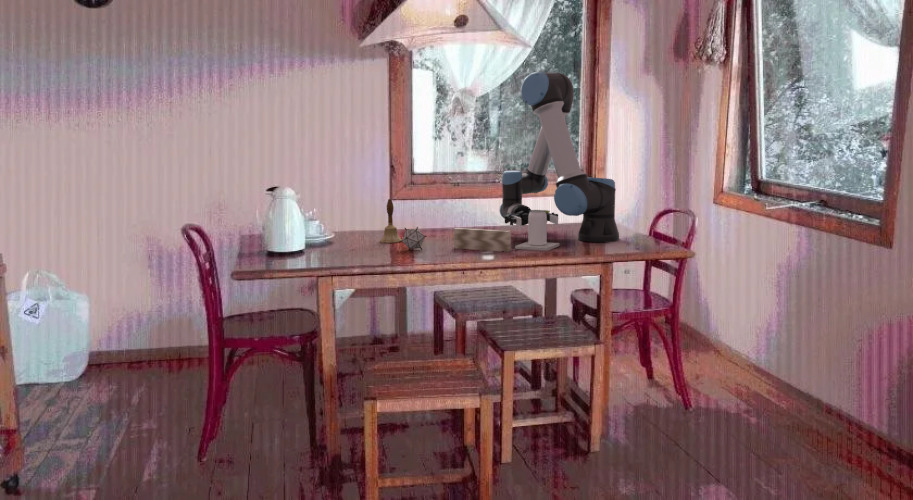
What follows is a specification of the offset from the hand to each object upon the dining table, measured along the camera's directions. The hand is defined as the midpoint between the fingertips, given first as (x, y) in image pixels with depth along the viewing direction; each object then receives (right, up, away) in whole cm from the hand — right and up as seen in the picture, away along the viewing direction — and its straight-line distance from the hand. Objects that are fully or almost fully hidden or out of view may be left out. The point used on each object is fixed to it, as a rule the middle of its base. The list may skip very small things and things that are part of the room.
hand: (538, 221), depth 300 cm
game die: (-44, -10, +1) cm, 45 cm away
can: (0, -8, +3) cm, 9 cm away
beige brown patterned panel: (-20, -10, 0) cm, 22 cm away
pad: (0, -9, +3) cm, 10 cm away
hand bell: (-54, -7, +22) cm, 58 cm away
